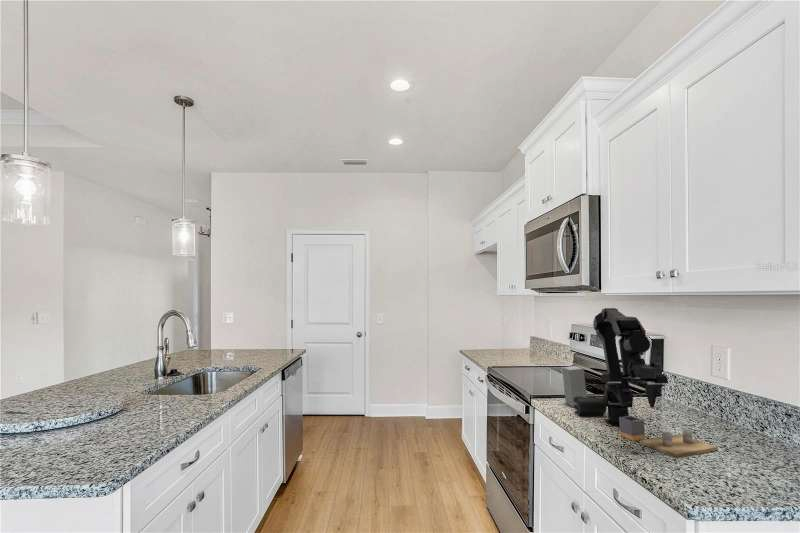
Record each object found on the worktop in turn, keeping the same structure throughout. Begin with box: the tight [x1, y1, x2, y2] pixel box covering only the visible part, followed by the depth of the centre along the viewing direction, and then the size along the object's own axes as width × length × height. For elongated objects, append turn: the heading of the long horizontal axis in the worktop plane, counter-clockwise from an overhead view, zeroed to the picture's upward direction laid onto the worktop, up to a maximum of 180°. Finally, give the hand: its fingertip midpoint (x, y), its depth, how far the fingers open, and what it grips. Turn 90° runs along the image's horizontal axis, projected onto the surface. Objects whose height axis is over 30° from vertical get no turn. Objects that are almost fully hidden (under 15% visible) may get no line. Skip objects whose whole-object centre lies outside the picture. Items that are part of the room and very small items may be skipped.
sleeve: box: [619, 415, 646, 442], centre depth 132 cm, size 5×5×6 cm
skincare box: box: [561, 365, 588, 408], centre depth 172 cm, size 8×7×16 cm
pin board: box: [639, 428, 719, 459], centre depth 123 cm, size 12×16×4 cm
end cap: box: [573, 395, 608, 416], centre depth 158 cm, size 10×7×7 cm
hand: (637, 407), depth 126 cm, fingers open, 9 cm apart
